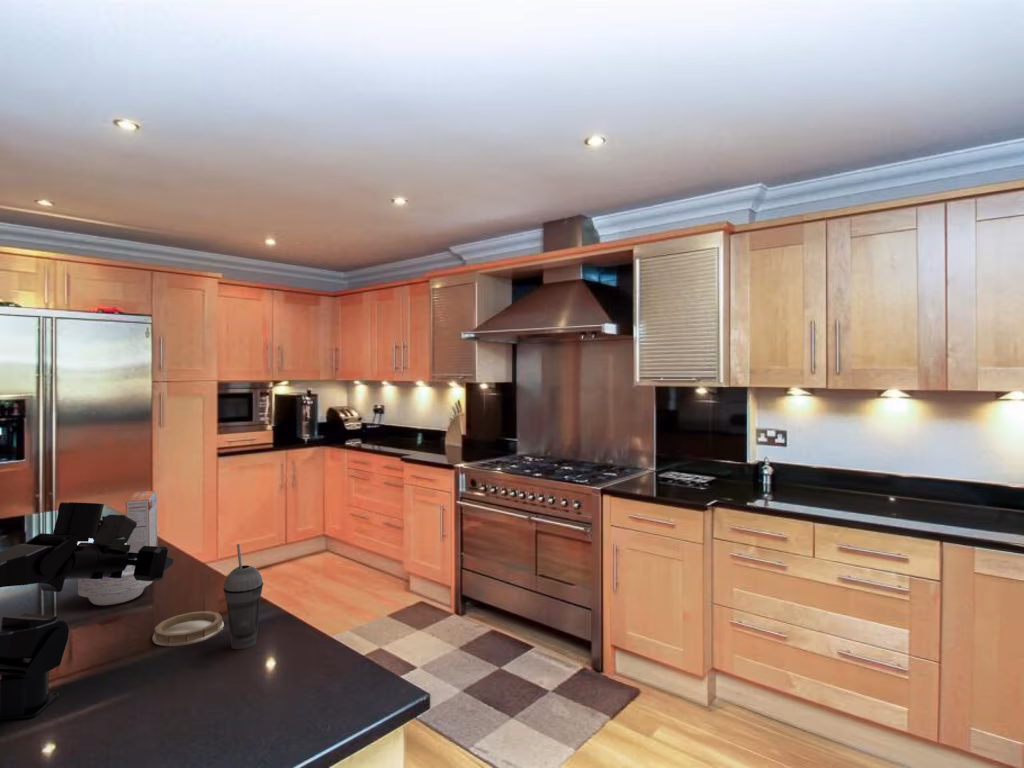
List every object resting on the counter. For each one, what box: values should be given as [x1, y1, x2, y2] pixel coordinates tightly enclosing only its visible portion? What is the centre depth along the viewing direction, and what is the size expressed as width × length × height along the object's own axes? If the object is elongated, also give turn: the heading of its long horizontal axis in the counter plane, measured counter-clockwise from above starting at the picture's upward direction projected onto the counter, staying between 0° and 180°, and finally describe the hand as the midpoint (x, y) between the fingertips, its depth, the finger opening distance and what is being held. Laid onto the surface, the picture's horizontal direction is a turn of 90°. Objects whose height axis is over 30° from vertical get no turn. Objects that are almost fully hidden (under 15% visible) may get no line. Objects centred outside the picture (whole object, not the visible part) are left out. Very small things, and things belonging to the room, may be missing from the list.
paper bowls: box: [77, 558, 154, 606], centre depth 138 cm, size 15×15×8 cm
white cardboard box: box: [125, 490, 158, 553], centre depth 162 cm, size 14×6×21 cm, turn 25°
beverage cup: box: [222, 543, 264, 650], centre depth 113 cm, size 7×7×20 cm
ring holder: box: [152, 610, 225, 647], centre depth 119 cm, size 13×13×2 cm
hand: (153, 560), depth 116 cm, fingers open, 9 cm apart
